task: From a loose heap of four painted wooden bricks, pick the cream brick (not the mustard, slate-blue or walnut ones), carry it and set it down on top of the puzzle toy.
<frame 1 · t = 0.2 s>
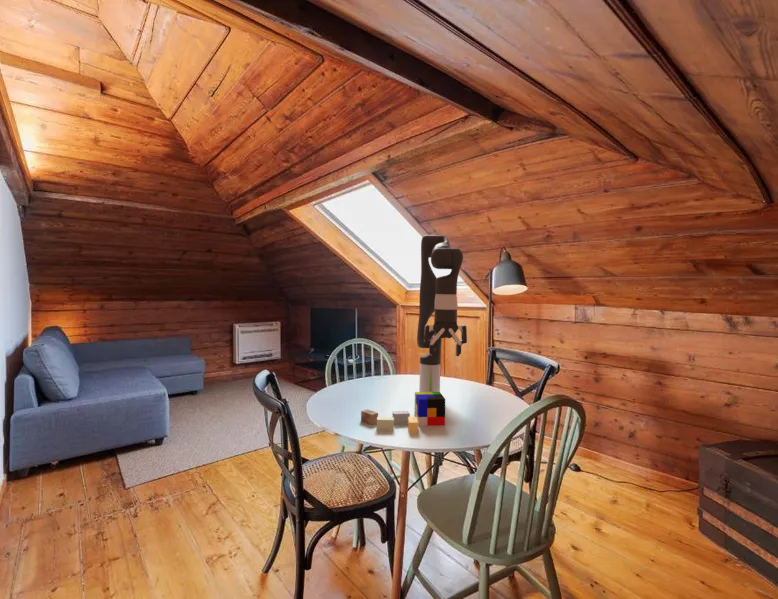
hand: (444, 355, 133), 29 cm above the table, fingers open, 8 cm apart
mustard brick: (412, 430, 142), on the table
walnut brick: (369, 422, 150), on the table
cream brick: (385, 429, 143), on the table
puzzle toy: (429, 421, 152), on the table
slate brick: (400, 422, 150), on the table
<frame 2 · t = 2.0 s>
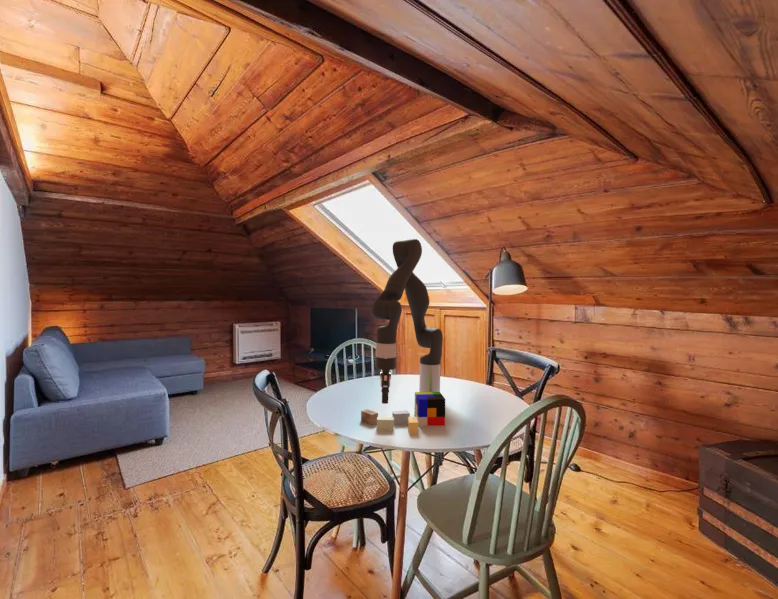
hand: (385, 399, 142), 11 cm above the table, fingers open, 8 cm apart
nothing on the table moved.
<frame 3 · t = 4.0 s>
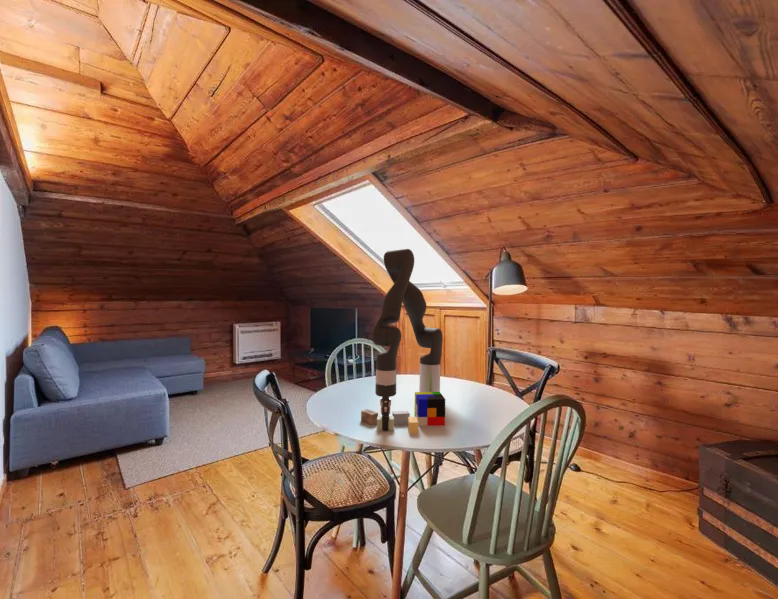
hand: (385, 428, 143), 0 cm above the table, fingers closed on cream brick, 3 cm apart
cream brick: (385, 428, 143), on the table, touching gripper
everything else where it was.
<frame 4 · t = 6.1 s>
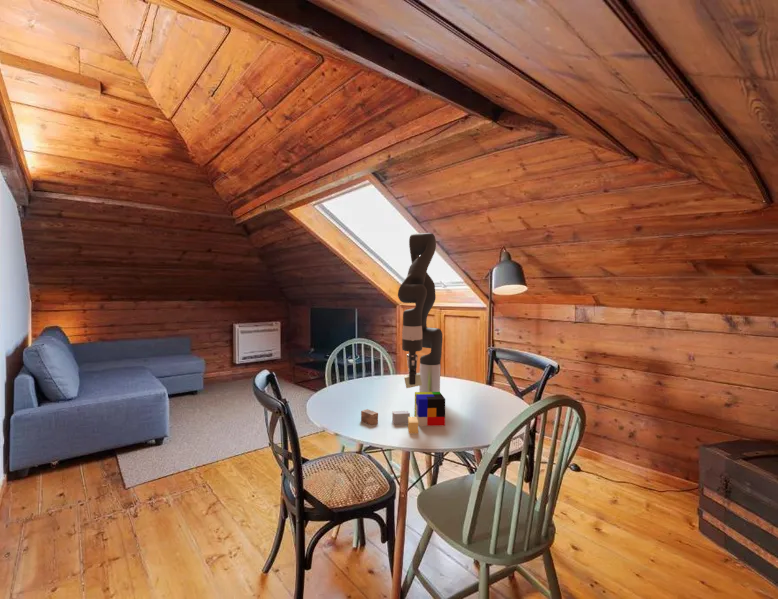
hand: (412, 382, 148), 16 cm above the table, fingers closed on cream brick, 3 cm apart
cream brick: (414, 385, 148), point 14 cm above the table, tilted 13°, touching gripper
everything else where it was.
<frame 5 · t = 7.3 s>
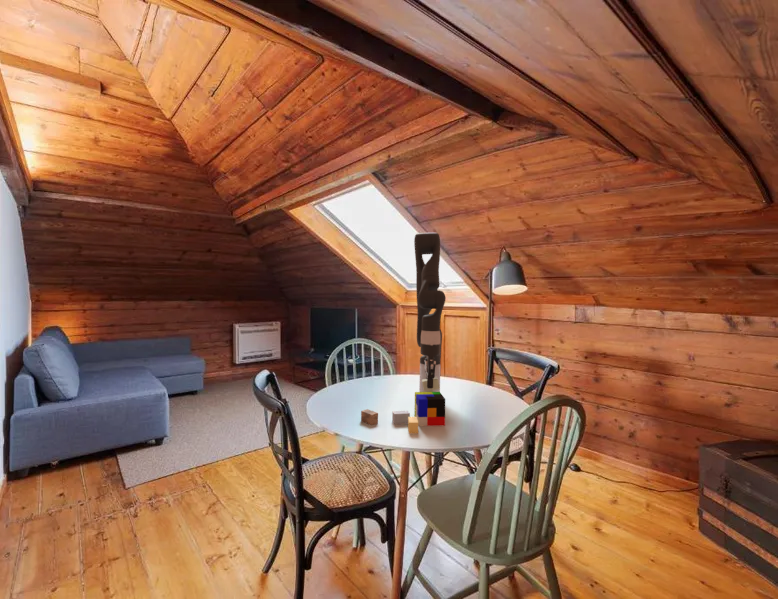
hand: (429, 386, 152), 13 cm above the table, fingers closed on cream brick, 3 cm apart
cream brick: (431, 389, 152), point 12 cm above the table, tilted 12°, touching gripper
everything else where it was.
when the fingers open (12 cm above the table, at t = 8.3 s): cream brick stays where it is, resting on puzzle toy.
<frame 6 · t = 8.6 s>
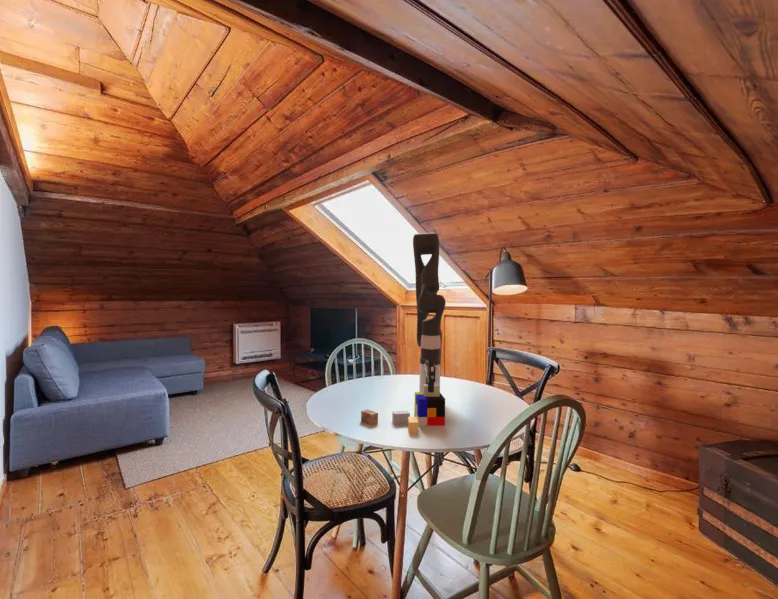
hand: (429, 389, 152), 12 cm above the table, fingers open, 6 cm apart
cream brick: (431, 395, 152), point 10 cm above the table, touching puzzle toy
puzzle toy: (429, 421, 152), on the table, touching cream brick
everything else where it was.
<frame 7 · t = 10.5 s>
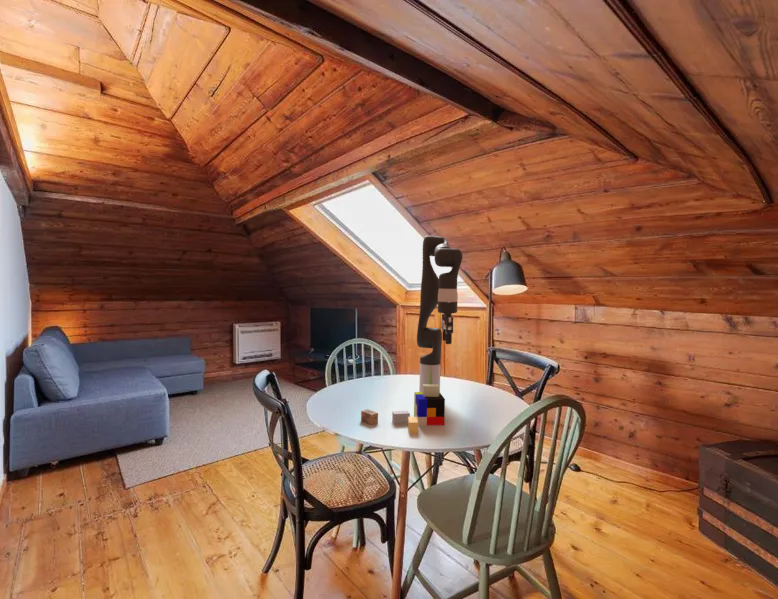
hand: (446, 342, 153), 30 cm above the table, fingers open, 8 cm apart
nothing on the table moved.
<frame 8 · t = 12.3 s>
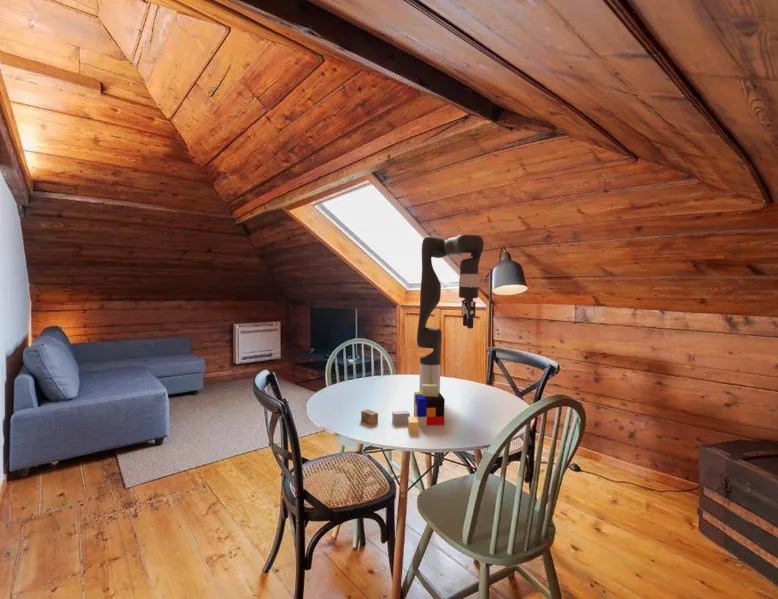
hand: (467, 327, 155), 36 cm above the table, fingers open, 8 cm apart
nothing on the table moved.
at the end: cream brick inside the target area in the puzzle toy (0.4 cm from its centre), point 10.2 cm above the puzzle toy's base; slate brick moved 0.2 cm from its start; mustard brick moved 0.2 cm from its start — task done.
